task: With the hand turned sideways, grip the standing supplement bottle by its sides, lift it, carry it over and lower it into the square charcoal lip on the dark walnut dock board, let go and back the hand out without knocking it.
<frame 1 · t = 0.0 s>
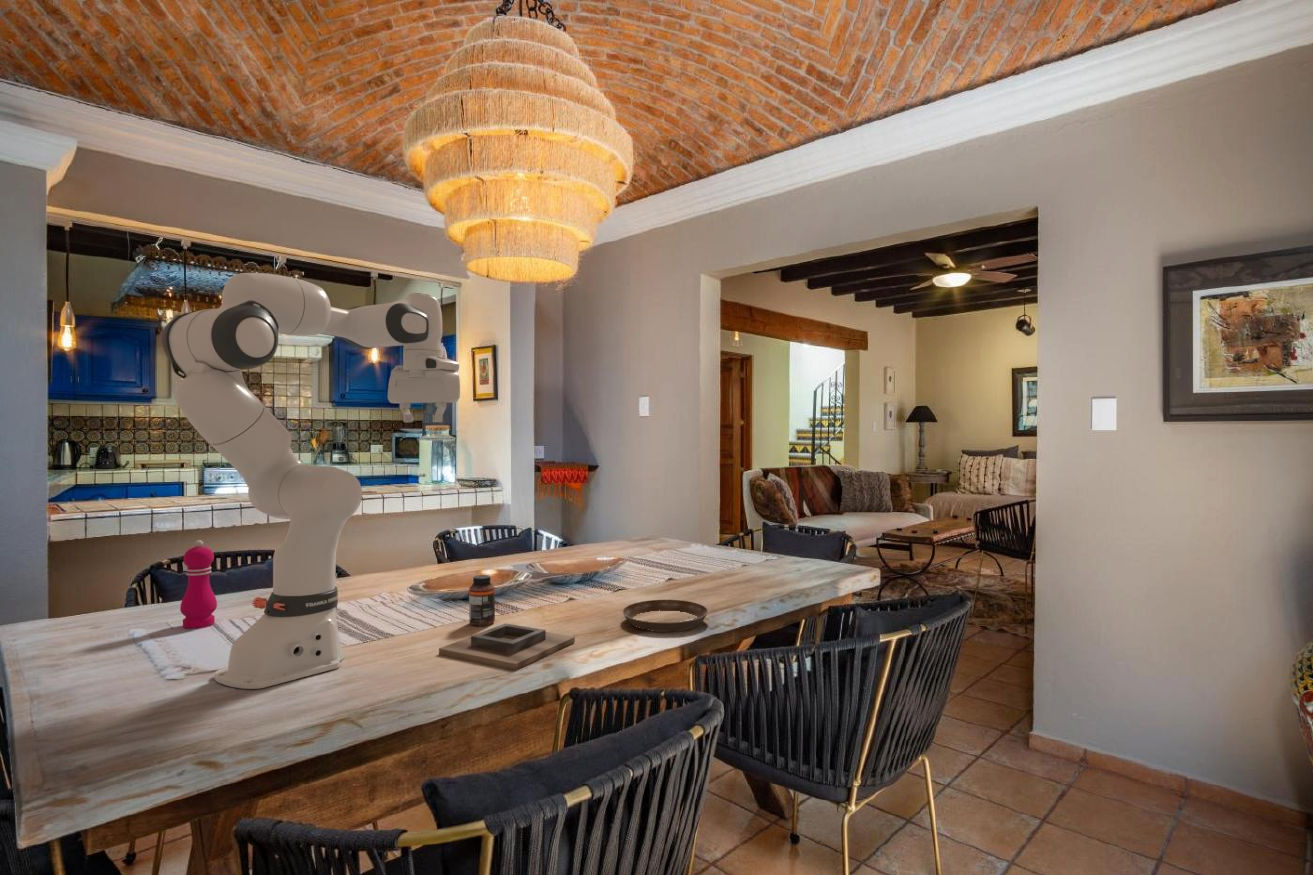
hand: (422, 422, 165), 48 cm above the table, tool pointing down, fingers open, 8 cm apart
supplement bottle: (482, 624, 166), on the table
pepper mill: (198, 626, 163), on the table
dock: (508, 648, 147), on the table
plant saucer: (665, 624, 168), on the table
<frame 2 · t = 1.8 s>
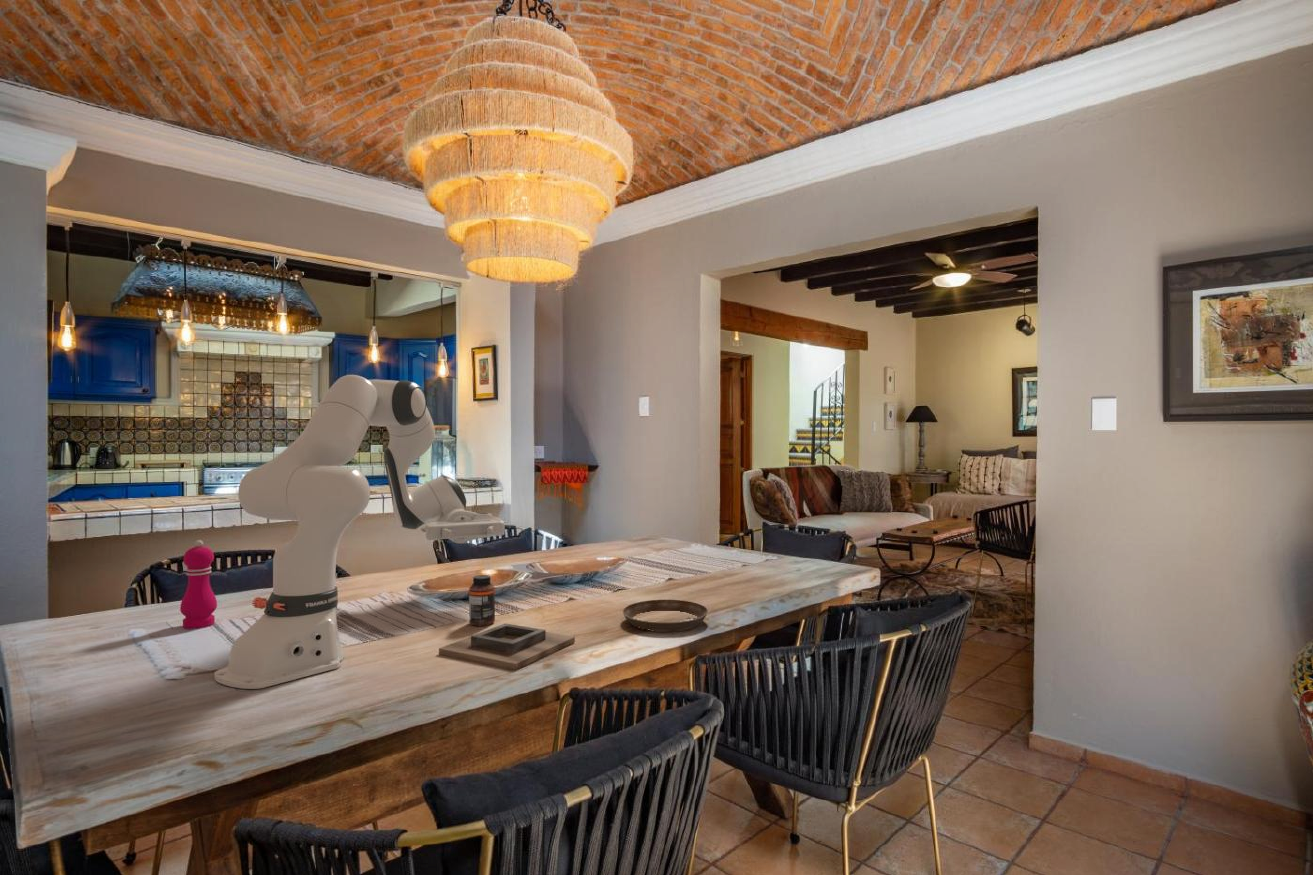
hand: (471, 533, 177), 20 cm above the table, tool horizontal, fingers open, 8 cm apart
nothing on the table moved.
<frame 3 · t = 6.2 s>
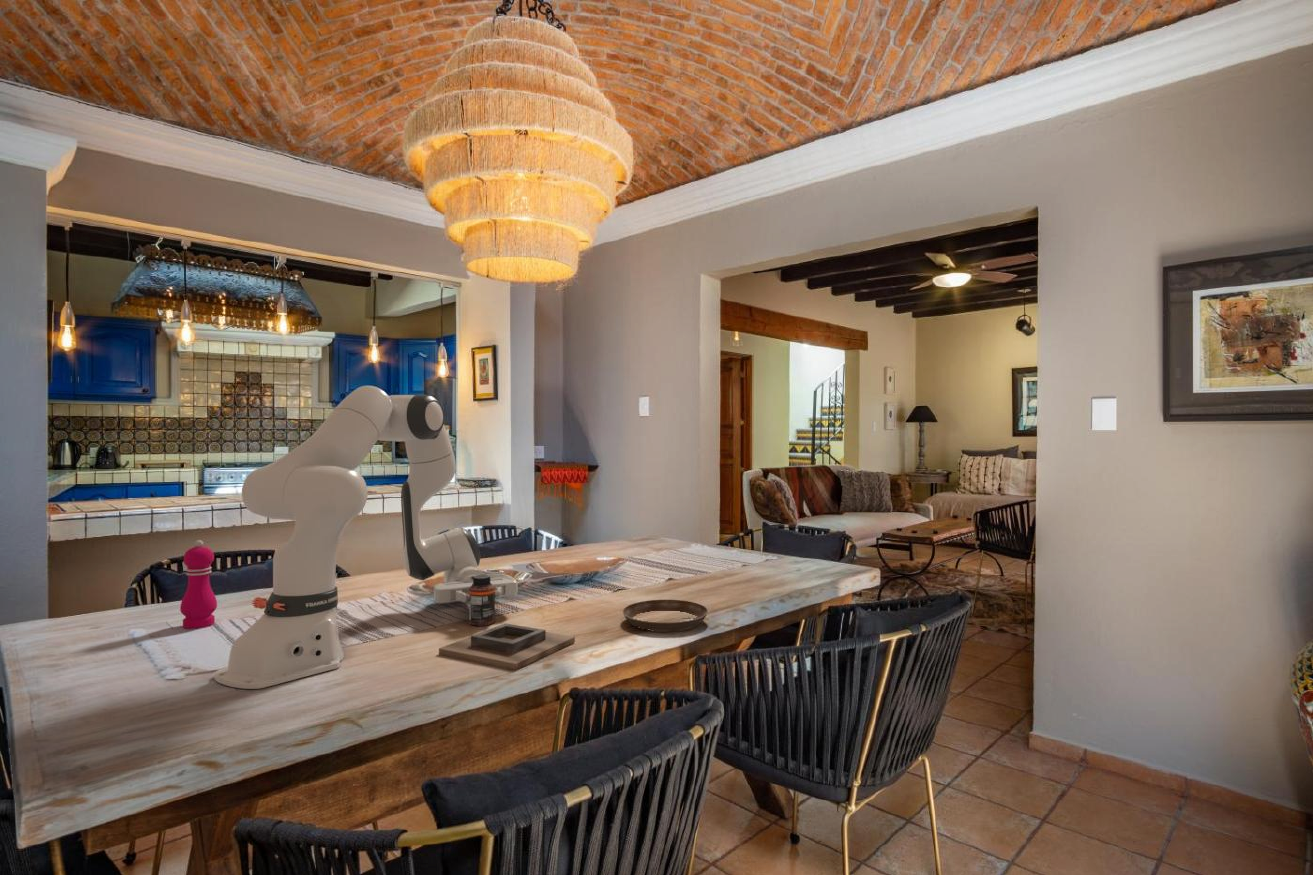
hand: (482, 596, 165), 7 cm above the table, tool horizontal, fingers closed on supplement bottle, 6 cm apart
supplement bottle: (482, 624, 166), on the table, touching gripper
everything else where it was.
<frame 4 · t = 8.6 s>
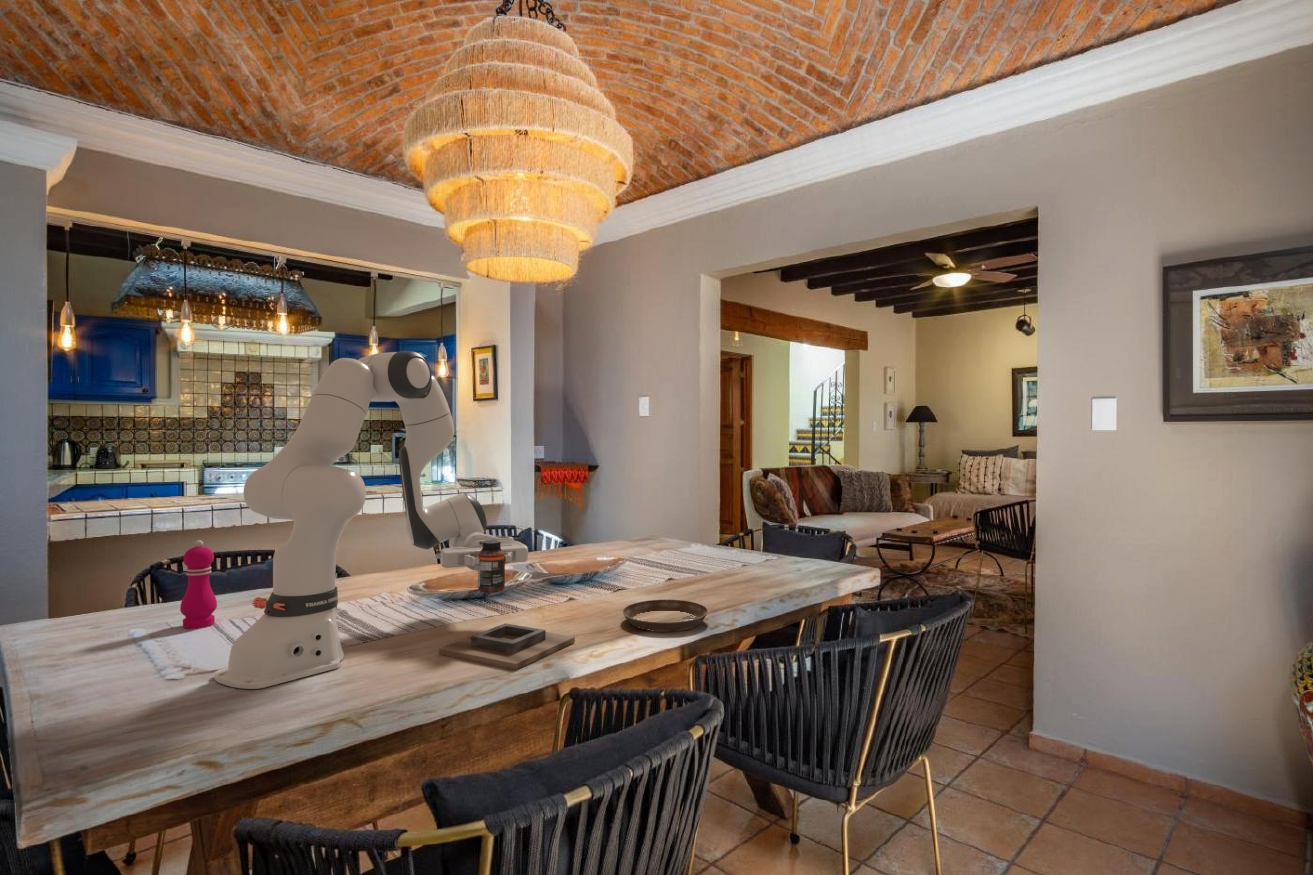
hand: (492, 560, 157), 17 cm above the table, tool horizontal, fingers closed on supplement bottle, 6 cm apart
supplement bottle: (491, 591, 158), point 9 cm above the table, touching gripper
everything else where it was.
when the fingers open (9 cm above the table, at t = 11.4 s): supplement bottle stays where it is, resting on dock.
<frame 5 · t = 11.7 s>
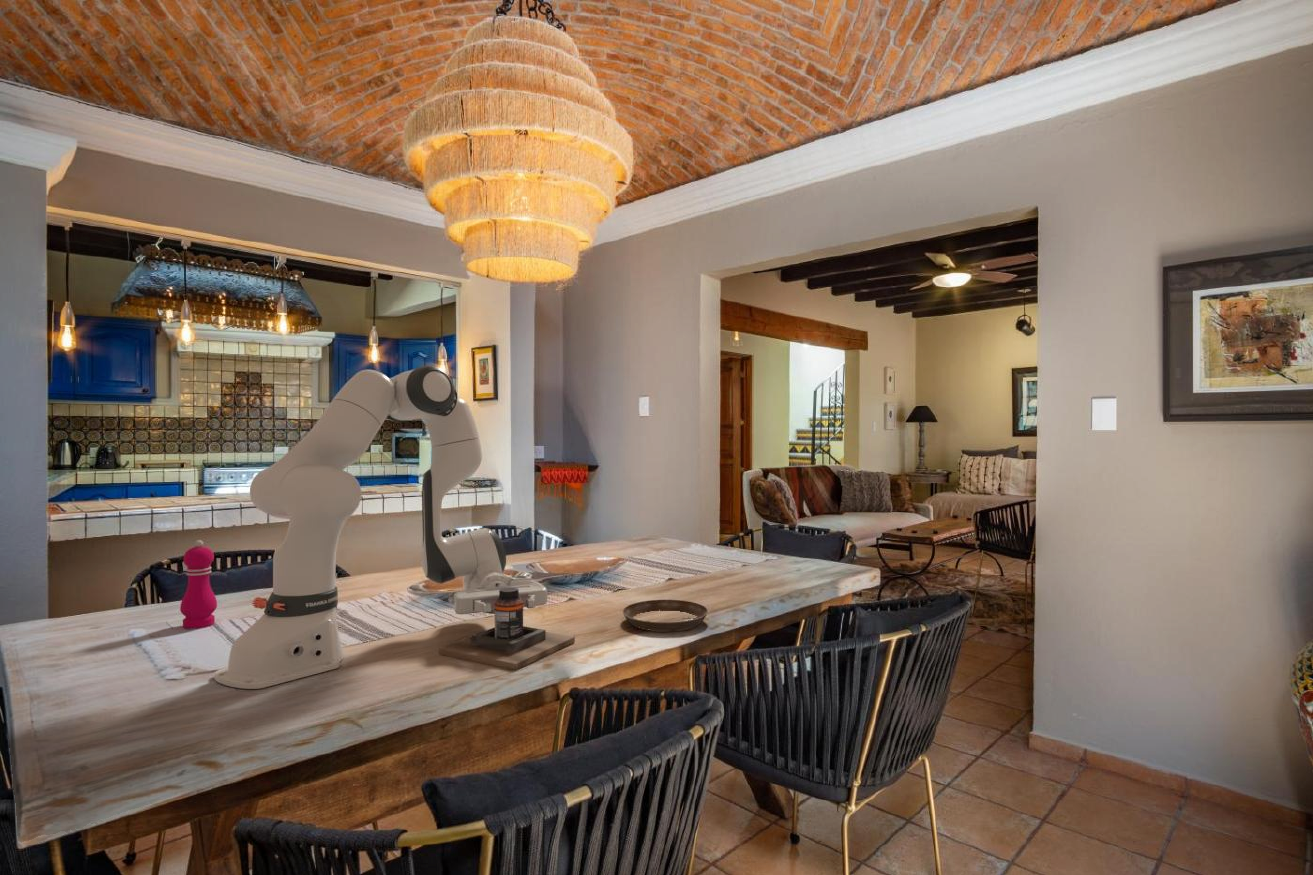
hand: (510, 606, 146), 9 cm above the table, tool horizontal, fingers open, 8 cm apart
supplement bottle: (508, 643, 147), point 1 cm above the table, touching dock
everything else where it was.
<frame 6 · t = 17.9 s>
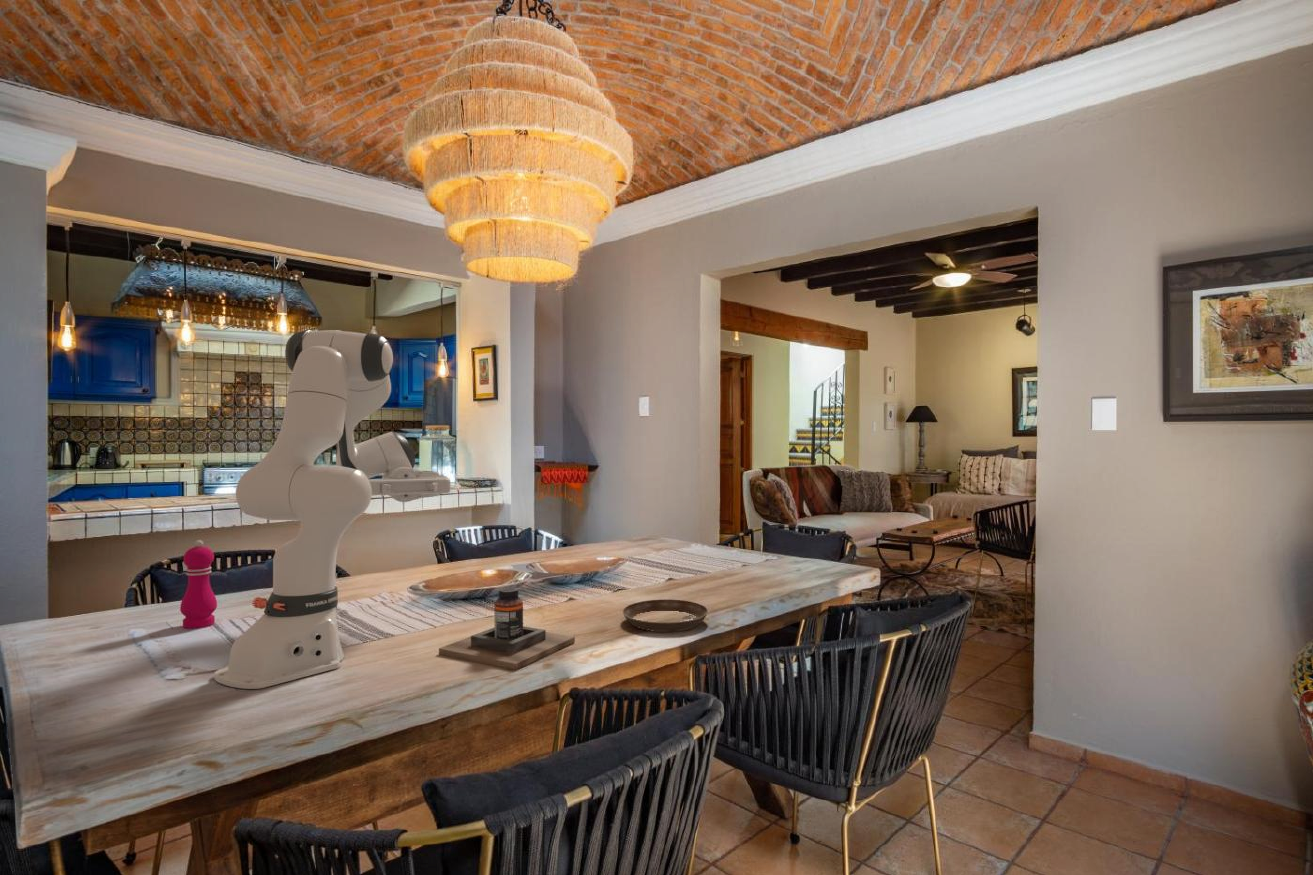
hand: (412, 488, 168), 32 cm above the table, tool horizontal, fingers open, 8 cm apart
nothing on the table moved.
at the end: supplement bottle 0.1 cm off-centre on the dock, point 1.0 cm above the dock's base; supplement bottle tilted 0°; the gripper is holding nothing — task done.
